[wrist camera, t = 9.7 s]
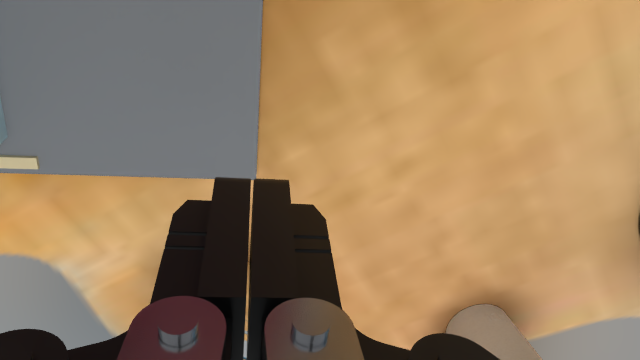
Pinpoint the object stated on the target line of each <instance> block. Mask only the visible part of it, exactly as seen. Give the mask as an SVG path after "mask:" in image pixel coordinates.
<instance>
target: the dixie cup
mask: <svg viewBox="0 0 640 360" xmlns="http://www.w3.org/2000/svg"><path fill="white" fill-rule="evenodd" d="M446 334H454V335H458V336H461V337H464V338H467V339H469V340H471V341H474V342H475V343H477V344H479V345H480V346H482V347H483V348H485V349H486V350H488V351H489V352H490V353H492V354H493V355H495V356H496V357H497V358H499V359H500V360H542V358H541V357H540V356H539V355H538V353H537V352H536V351H535V350H534V348H533V347H532V346H531V345H530V343H529V342H528V341H527V340H526V338H525V337H524V336H523V335H522V333H521V332H520V331H519V330H518V328H517V327H516V326H515V325H514V323H513V322H512V321H511V320H510V318H509V317H508V316H507V315H506V313H505V312H504V311H503V310H502V309H501V308H499V307H497V306H494V305H490V304H479V305H474V306H471V307H468V308H466V309H464V310H462V311H460V312H459V313H457V314H456V315H455V316H454V317H453V318H452V319H451V321H450V322H449V324H448V326H447V329H446Z"/></svg>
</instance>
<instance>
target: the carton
mask: <svg viewBox="0 0 640 360" xmlns="http://www.w3.org/2000/svg"><path fill="white" fill-rule="evenodd" d="M7 137H8V135H7V130H6V125H5V119H4V114H3V109H2V103H1V98H0V144H1V143H2V142H3V141H4V140H5V139H6V138H7Z"/></svg>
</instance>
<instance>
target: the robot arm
mask: <svg viewBox="0 0 640 360" xmlns="http://www.w3.org/2000/svg"><path fill="white" fill-rule="evenodd" d="M250 186H251V179H250V178H228V177H215V182H214V189H213V195H212V201H202V200H187V201H186V202H185V203H184V204H183V205H182V206H181V207H180V208H179V209H178V210H177V211H176V212H175V213H174V214H173V217H172V221H171V225H170V228H169V235H168V236H167V240H166V244H165V249H164V252H163V256H162V260H161V264H160V267H159V271H158V275H157V279H156V283H155V287H154V291H153V295H152V299H151V302H150V305H148V306H147V307H145V308H144V309H142V310H141V311H140V312H139V313H138V314H137V315H136V317H135V318H134V319H133V321H132V323H131V325H130V327H129V330H128V331H126V332H124V333H123V334H121V335H119V336H117V337H114V338H112V339H109V340H107V341H103V342H100V343H96V344H91V345H87V346H83V347H79V348H75V349H71V350H67V349H66V347H65V345H64V343H63V342H62V341H61V340H60V339H59V338H58V337H57V336H55V335H54V334H51V333H49V332H46V331H43V330H36V329H21V330H13V331H8V332H5V333H1V334H0V360H243V355H244V335H245V315H246V294H247V267H248V240H249V213H250ZM247 360H500V359H499V358H497V357H496V356H495V355H493V354H492V353H490V352H489V351H488V350H486V349H485V348H483V347H482V346H480V345H479V344H477V343H475V342H474V341H471V340H469V339H467V338H464V337H461V336H458V335H454V334H446V333H439V334H432V335H428V336H426V337H423V338H422V339H420V340H418V341H417V342H416V343H415V344H414V346H413V347H412V349H411V351H410V350H406V349H403V348H399V347H395V346H392V345H388V344H384V343H381V342H378V341H375V340H373V339H371V338H369V337H367V336H365V335H364V334H362V333H361V332H359V331H358V330H357V329H356V328H355V327H354V325H353V322H352V320H351V319H350V317H349V316H348V315H347V314H346V313H345V312H344V311H343V310H342V307H341V302H340V296H339V291H338V285H337V280H336V274H335V269H334V263H333V257H332V253H331V246H330V241H329V235H328V230H327V224H326V219H325V218H324V217H323V216H322V215H321V213H320V212H319V211H318V210H317V209H316V208H315V206H314V205H308V204H291V199H290V187H289V180H275V179H254V185H253V205H252V224H251V244H250V268H249V299H248V330H247Z"/></svg>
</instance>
